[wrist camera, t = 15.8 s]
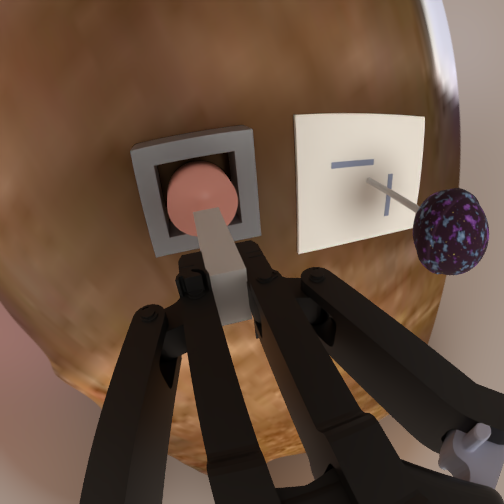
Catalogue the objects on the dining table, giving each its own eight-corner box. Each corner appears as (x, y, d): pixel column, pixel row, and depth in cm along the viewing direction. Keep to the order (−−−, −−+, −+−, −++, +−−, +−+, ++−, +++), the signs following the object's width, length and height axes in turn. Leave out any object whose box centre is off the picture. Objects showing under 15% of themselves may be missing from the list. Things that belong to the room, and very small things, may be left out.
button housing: (134, 144, 21) (130, 150, 19) (243, 125, 23) (252, 129, 20) (156, 240, 26) (156, 257, 24) (252, 221, 28) (261, 235, 25)
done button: (161, 167, 21) (160, 178, 19) (226, 155, 22) (234, 164, 20) (173, 225, 24) (175, 242, 21) (233, 213, 25) (241, 229, 22)
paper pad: (293, 114, 24) (295, 115, 23) (422, 116, 26) (425, 117, 26) (297, 252, 31) (299, 254, 30) (410, 226, 34) (413, 228, 33)
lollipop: (399, 188, 30) (502, 256, 17) (355, 222, 31) (451, 310, 18) (381, 136, 26) (505, 190, 14) (330, 171, 27) (447, 250, 14)
